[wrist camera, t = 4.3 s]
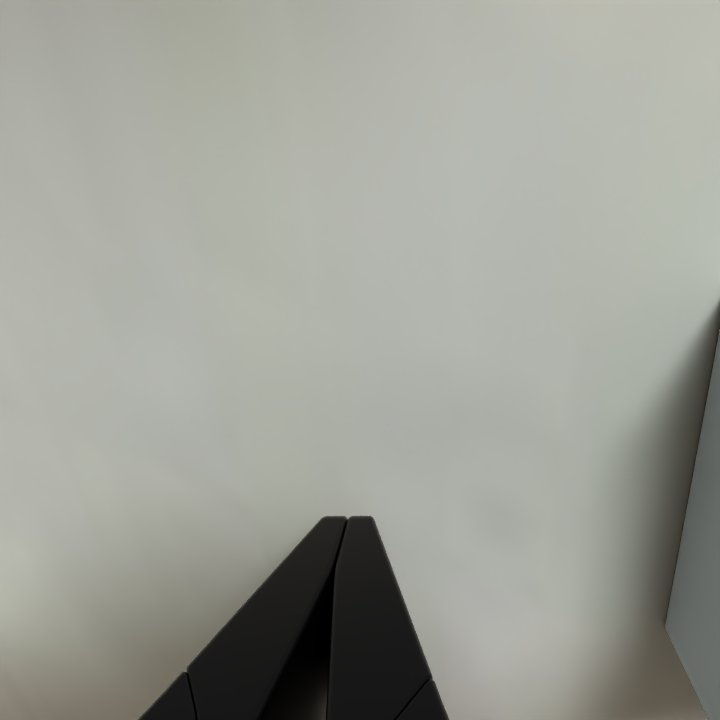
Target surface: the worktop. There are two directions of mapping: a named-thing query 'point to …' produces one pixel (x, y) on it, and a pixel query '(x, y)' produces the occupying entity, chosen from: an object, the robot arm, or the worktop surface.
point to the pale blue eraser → (701, 564)
